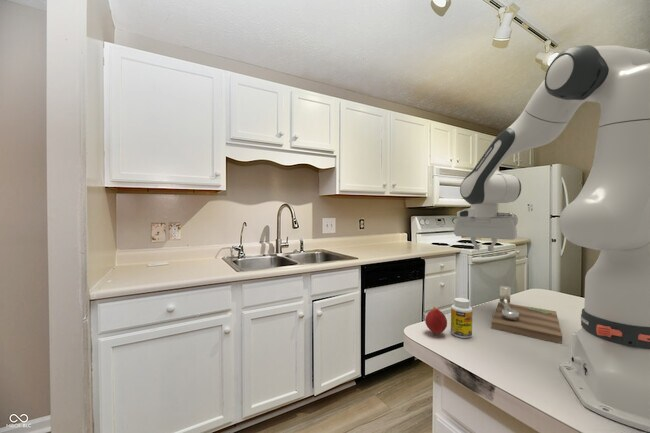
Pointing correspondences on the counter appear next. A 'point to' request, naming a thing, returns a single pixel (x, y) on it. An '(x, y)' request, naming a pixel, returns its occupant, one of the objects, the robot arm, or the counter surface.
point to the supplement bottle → (461, 318)
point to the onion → (436, 321)
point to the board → (529, 323)
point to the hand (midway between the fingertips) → (483, 250)
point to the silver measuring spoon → (505, 300)
